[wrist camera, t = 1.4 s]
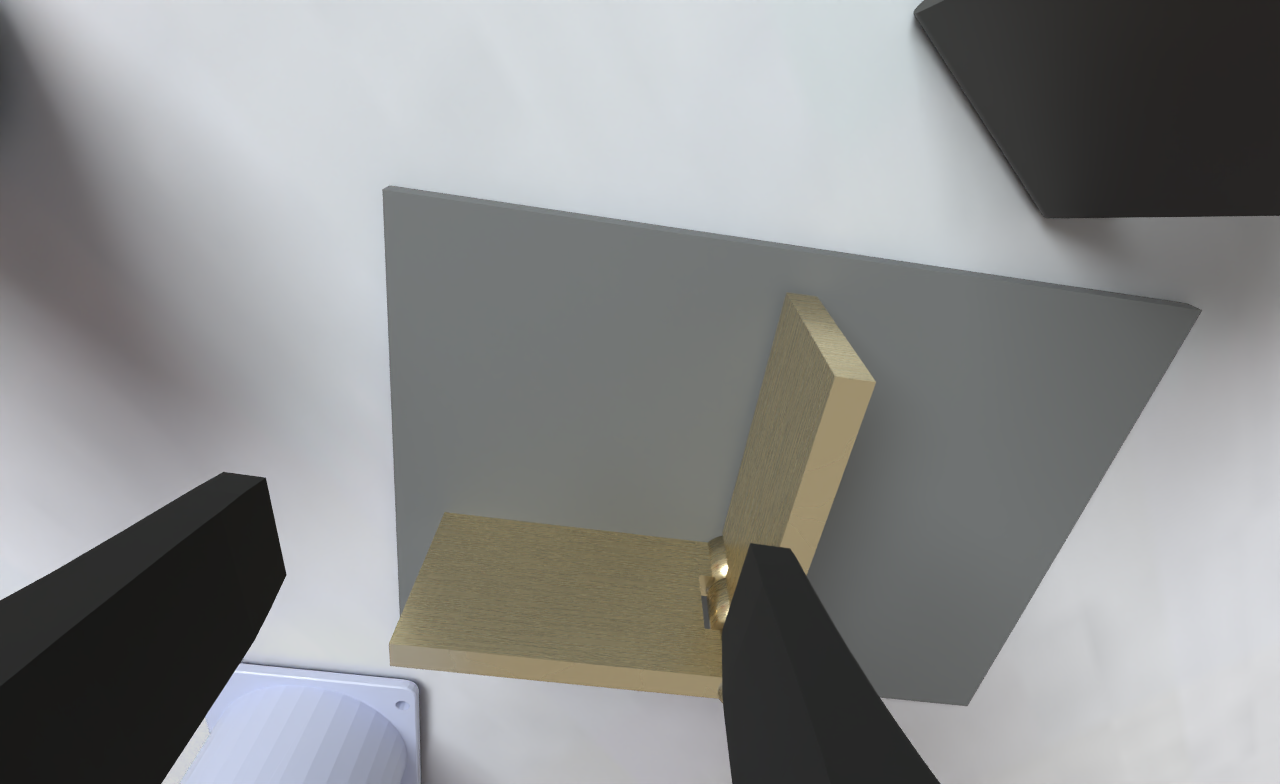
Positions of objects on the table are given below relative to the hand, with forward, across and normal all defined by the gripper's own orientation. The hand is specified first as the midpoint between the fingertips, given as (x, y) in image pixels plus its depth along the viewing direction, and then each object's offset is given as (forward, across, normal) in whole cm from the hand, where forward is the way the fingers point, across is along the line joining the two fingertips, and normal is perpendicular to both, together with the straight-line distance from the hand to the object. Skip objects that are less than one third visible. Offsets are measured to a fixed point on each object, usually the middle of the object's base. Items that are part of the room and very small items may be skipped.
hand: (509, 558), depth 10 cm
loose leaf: (+8, -6, +3) cm, 10 cm away
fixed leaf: (+8, -1, +7) cm, 11 cm away
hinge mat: (+9, -6, +5) cm, 12 cm away
